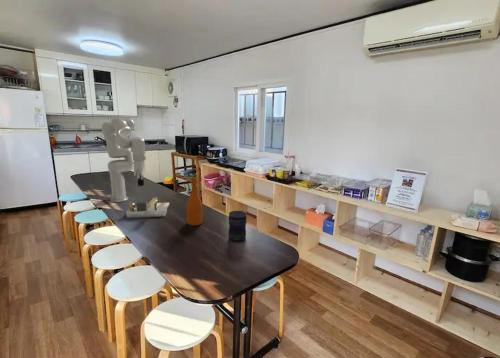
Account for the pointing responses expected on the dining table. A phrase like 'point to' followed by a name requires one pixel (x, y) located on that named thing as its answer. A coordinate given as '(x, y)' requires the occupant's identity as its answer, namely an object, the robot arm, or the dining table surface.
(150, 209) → the plane body
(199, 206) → the wine bottle
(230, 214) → the black camera lens
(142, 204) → the dark grey block
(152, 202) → the latch lever
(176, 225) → the dining table surface
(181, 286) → the dining table surface
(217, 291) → the dining table surface
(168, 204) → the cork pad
